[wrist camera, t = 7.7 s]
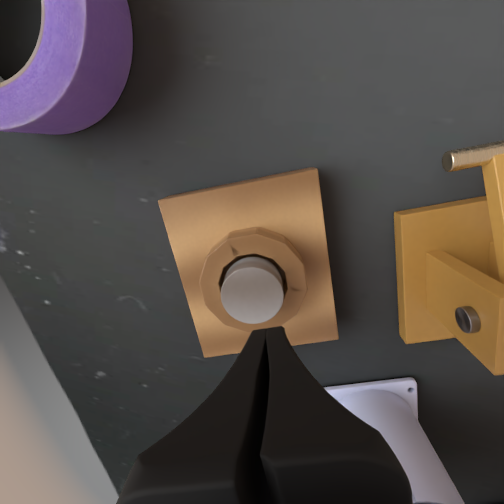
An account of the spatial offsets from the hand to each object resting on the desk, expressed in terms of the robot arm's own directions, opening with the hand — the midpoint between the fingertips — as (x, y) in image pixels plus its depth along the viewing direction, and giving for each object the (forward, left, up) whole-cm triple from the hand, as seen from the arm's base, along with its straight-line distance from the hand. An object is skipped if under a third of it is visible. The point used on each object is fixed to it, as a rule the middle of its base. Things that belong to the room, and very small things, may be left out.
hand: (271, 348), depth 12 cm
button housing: (0, +1, -10) cm, 10 cm away
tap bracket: (-3, -13, -10) cm, 17 cm away
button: (0, +1, -6) cm, 6 cm away
